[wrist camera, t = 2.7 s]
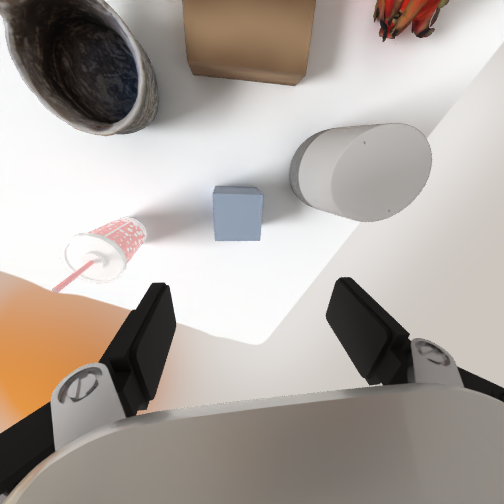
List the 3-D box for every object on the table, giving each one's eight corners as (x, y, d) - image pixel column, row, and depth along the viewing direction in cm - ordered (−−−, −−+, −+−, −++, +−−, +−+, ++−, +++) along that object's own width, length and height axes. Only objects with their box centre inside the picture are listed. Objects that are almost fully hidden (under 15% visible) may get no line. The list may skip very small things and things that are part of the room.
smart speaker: (272, 162, 26) (312, 168, 14) (328, 116, 24) (433, 74, 12) (303, 213, 30) (357, 253, 18) (354, 176, 29) (452, 192, 16)
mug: (133, 158, 24) (78, 159, 15) (20, 51, 19) (-165, -44, 10) (184, 100, 22) (156, 62, 13) (75, -39, 17) (-97, -260, 8)
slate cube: (215, 186, 27) (212, 193, 21) (256, 187, 28) (263, 195, 22) (216, 225, 29) (214, 240, 24) (254, 226, 30) (260, 240, 25)
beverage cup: (102, 238, 28) (6, 303, 16) (114, 204, 26) (13, 246, 14) (144, 255, 30) (87, 324, 18) (157, 224, 28) (104, 277, 16)
